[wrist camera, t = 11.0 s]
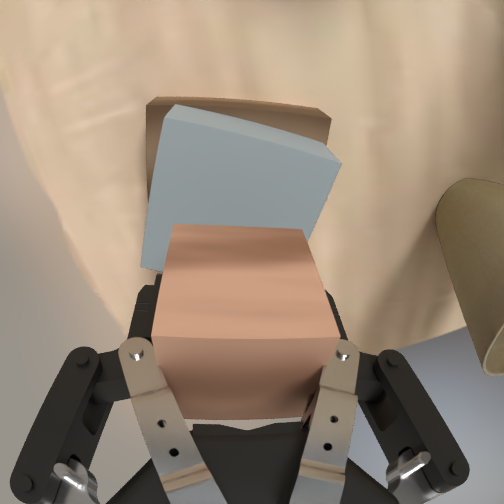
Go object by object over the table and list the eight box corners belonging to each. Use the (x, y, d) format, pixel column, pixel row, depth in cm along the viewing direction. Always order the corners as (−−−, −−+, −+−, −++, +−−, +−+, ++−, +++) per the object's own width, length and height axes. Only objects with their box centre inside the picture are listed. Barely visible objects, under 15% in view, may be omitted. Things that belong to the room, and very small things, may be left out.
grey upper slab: (175, 104, 18) (164, 117, 15) (322, 142, 21) (341, 163, 18) (150, 234, 24) (140, 267, 21) (275, 259, 26) (283, 293, 23)
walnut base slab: (158, 95, 22) (146, 105, 18) (316, 107, 23) (331, 118, 20) (159, 231, 28) (152, 257, 25) (292, 236, 30) (300, 263, 27)
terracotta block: (173, 223, 13) (151, 335, 9) (302, 229, 14) (340, 336, 9) (178, 314, 17) (169, 417, 12) (282, 316, 17) (301, 416, 12)
